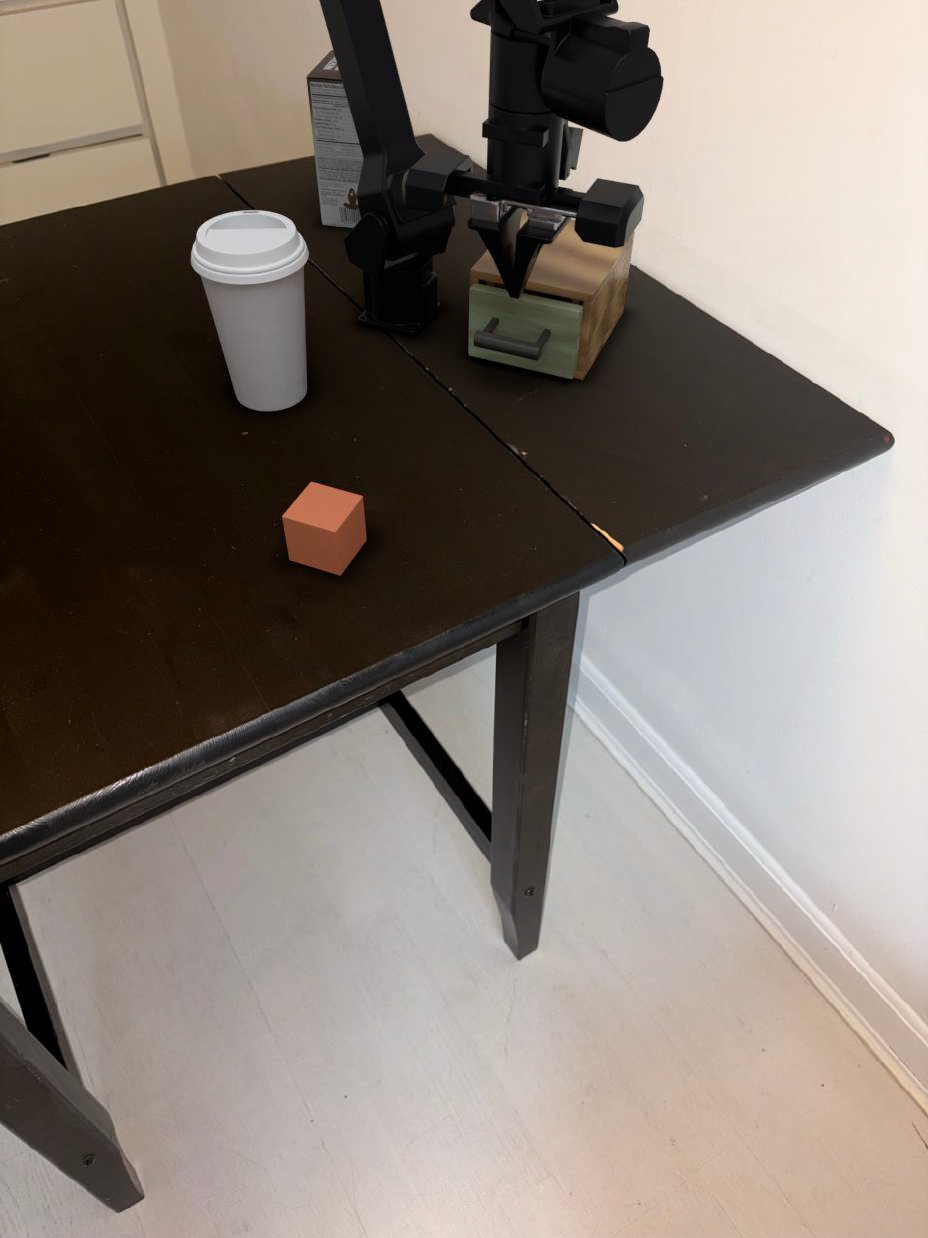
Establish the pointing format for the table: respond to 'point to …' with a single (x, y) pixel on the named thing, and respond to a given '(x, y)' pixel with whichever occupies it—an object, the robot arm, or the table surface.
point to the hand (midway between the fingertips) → (516, 296)
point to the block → (325, 528)
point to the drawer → (525, 329)
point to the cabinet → (576, 284)
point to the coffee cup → (257, 303)
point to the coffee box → (334, 145)
